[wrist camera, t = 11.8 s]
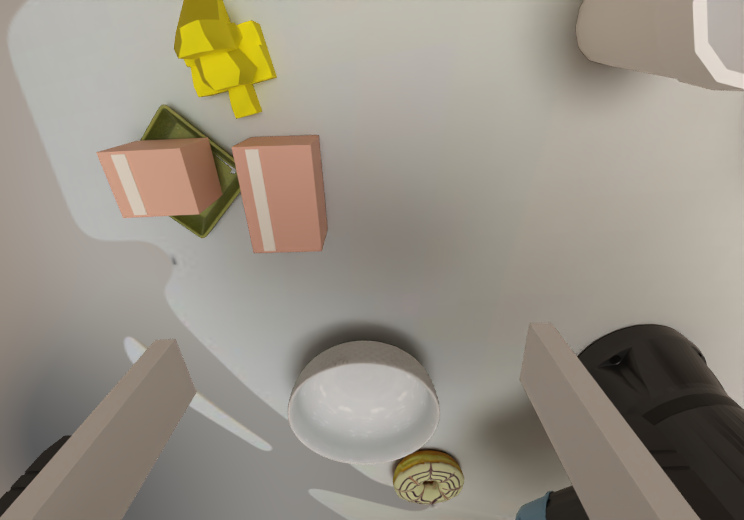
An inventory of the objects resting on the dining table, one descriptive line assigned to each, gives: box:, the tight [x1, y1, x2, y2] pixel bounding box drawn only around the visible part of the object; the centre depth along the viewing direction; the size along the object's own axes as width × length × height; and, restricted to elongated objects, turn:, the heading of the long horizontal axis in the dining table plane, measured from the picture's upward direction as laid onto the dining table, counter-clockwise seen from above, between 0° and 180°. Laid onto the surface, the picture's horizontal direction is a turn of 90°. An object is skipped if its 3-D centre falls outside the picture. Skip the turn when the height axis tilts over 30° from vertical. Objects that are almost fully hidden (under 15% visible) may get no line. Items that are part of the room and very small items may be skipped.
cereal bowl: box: [288, 340, 440, 465], centre depth 41 cm, size 17×17×7 cm
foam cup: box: [575, 0, 744, 91], centre depth 21 cm, size 10×9×13 cm
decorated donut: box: [393, 450, 464, 504], centre depth 52 cm, size 10×11×4 cm
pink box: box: [96, 137, 223, 218], centre depth 28 cm, size 5×6×5 cm
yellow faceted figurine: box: [174, 0, 277, 119], centre depth 24 cm, size 6×8×8 cm
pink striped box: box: [232, 135, 328, 253], centre depth 30 cm, size 10×6×5 cm, turn 1°
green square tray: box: [140, 105, 241, 238], centre depth 31 cm, size 9×9×2 cm
